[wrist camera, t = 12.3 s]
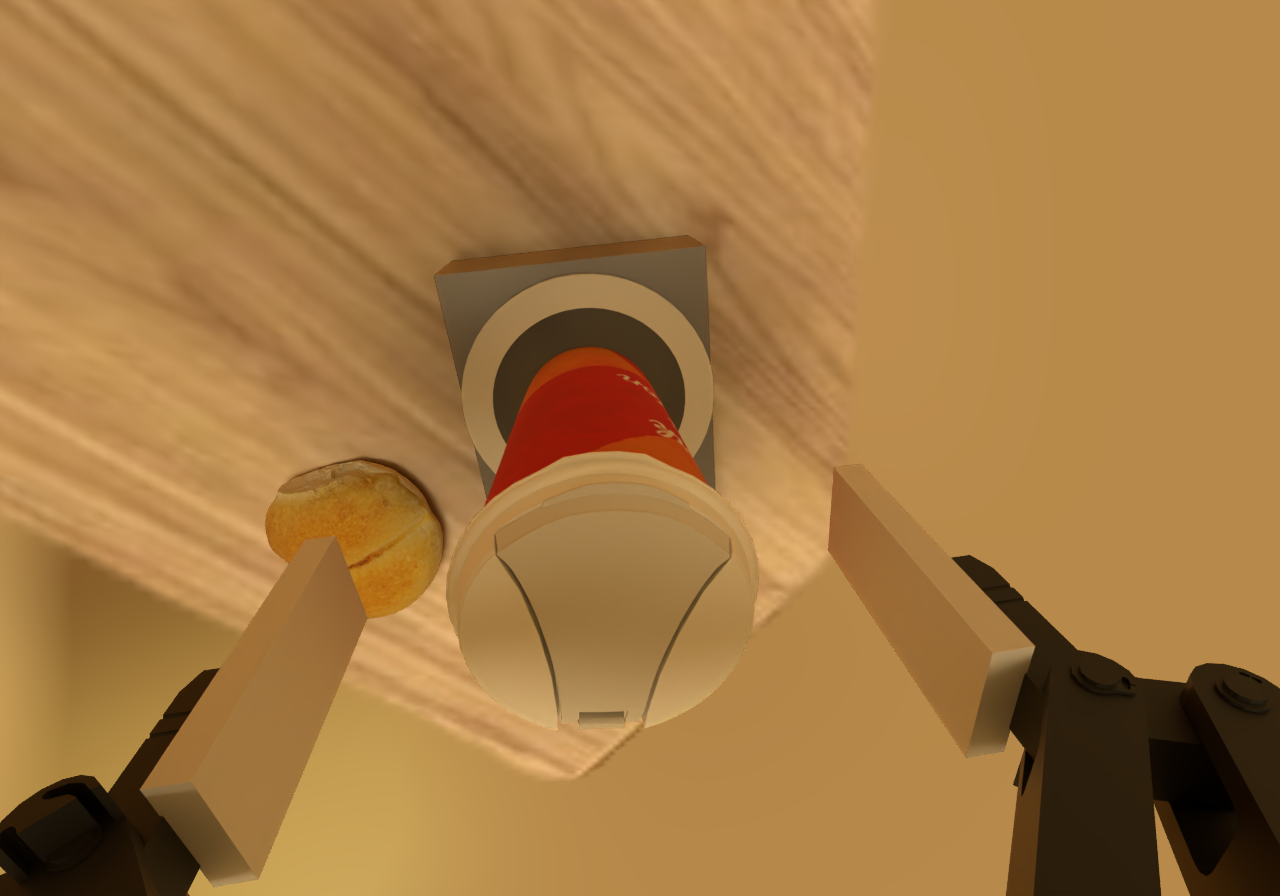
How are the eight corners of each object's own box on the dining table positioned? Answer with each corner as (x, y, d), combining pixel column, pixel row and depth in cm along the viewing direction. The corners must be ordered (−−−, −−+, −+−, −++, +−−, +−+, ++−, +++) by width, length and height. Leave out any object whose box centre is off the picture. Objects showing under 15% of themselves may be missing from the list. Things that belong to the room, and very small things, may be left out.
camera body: (451, 260, 27) (422, 285, 22) (688, 235, 28) (716, 252, 22) (515, 547, 34) (505, 618, 29) (702, 521, 35) (727, 586, 30)
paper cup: (666, 486, 28) (745, 744, 16) (501, 481, 27) (444, 755, 15) (687, 322, 25) (807, 484, 12) (499, 310, 24) (423, 475, 11)
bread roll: (337, 609, 35) (310, 659, 32) (257, 482, 31) (216, 523, 28) (471, 572, 35) (459, 619, 31) (408, 440, 31) (386, 476, 27)
